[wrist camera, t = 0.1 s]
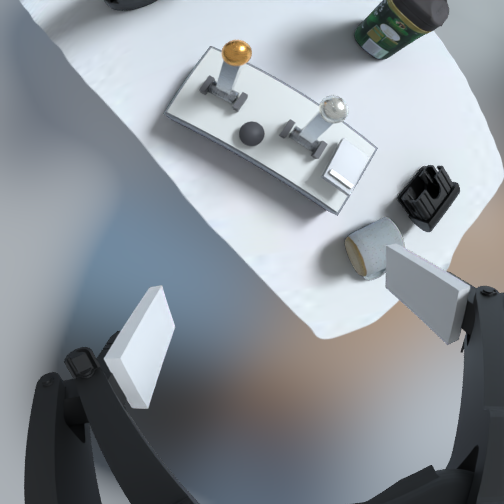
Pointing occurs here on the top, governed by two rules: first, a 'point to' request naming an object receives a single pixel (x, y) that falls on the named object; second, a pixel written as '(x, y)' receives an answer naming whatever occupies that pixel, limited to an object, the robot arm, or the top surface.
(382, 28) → the coffee jar
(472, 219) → the top surface
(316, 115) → the silver ball lever
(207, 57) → the console
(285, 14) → the top surface
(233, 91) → the lever orange
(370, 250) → the ceramic mug
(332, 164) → the rocker grey
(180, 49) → the top surface
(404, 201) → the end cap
